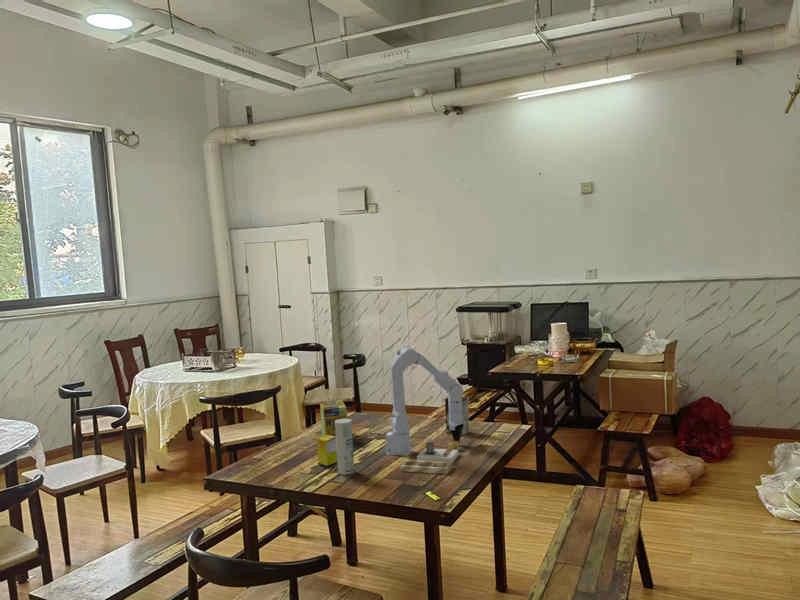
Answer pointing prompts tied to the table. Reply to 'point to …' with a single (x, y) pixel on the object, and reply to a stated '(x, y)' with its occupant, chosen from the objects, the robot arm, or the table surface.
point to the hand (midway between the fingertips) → (457, 442)
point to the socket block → (438, 456)
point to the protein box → (331, 415)
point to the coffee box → (464, 413)
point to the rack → (426, 466)
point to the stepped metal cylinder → (430, 447)
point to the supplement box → (327, 450)
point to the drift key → (451, 447)
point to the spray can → (344, 446)
